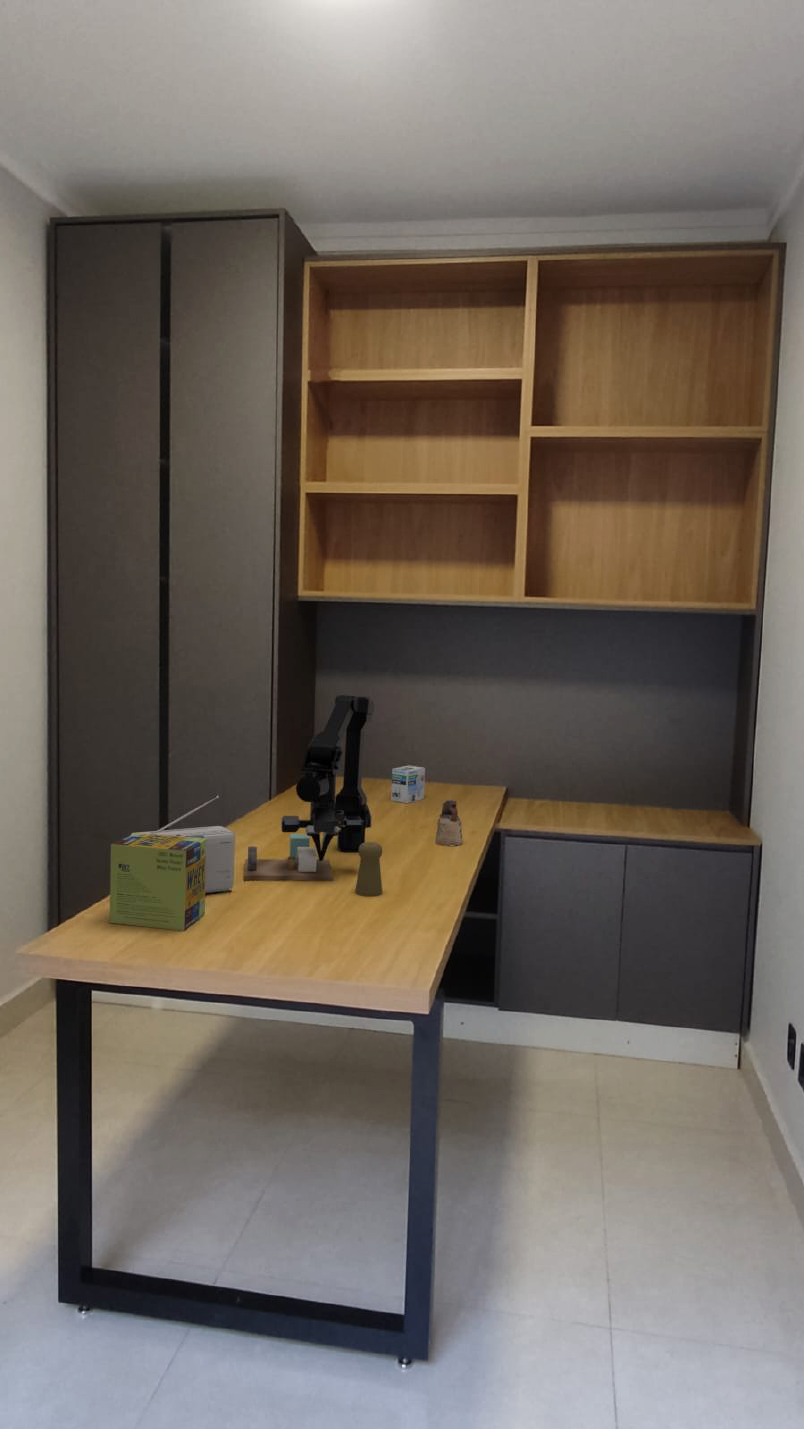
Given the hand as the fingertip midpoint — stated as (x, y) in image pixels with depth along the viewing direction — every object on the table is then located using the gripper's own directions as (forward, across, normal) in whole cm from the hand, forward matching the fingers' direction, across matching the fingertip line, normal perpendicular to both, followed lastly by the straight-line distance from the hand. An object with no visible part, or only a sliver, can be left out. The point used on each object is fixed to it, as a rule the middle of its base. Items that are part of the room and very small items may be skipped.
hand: (320, 860), depth 220 cm
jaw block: (+3, -4, +11) cm, 12 cm away
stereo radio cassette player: (+3, -31, -16) cm, 35 cm away
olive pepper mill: (+3, +9, -16) cm, 19 cm away
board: (+3, -8, 0) cm, 8 cm away
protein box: (+3, -34, -33) cm, 47 cm away
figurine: (+3, +37, +29) cm, 47 cm away
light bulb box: (+3, +35, +88) cm, 95 cm away
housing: (+1, -3, 0) cm, 4 cm away
